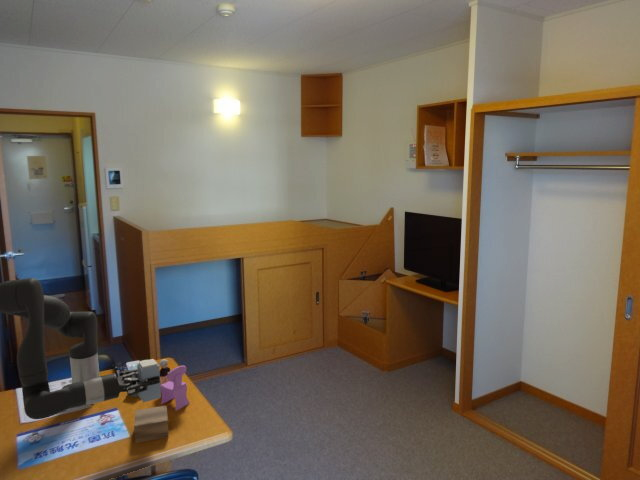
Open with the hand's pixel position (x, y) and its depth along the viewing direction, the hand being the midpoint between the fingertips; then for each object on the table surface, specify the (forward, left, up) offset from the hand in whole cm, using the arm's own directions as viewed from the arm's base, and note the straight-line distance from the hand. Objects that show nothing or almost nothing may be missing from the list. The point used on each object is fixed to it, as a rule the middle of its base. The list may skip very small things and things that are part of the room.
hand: (156, 375), depth 156 cm
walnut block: (0, -2, -19) cm, 19 cm away
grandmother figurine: (-26, +10, -19) cm, 34 cm away
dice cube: (-30, 0, -19) cm, 35 cm away
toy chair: (-14, +10, -19) cm, 26 cm away
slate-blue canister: (0, -3, -6) cm, 7 cm away
